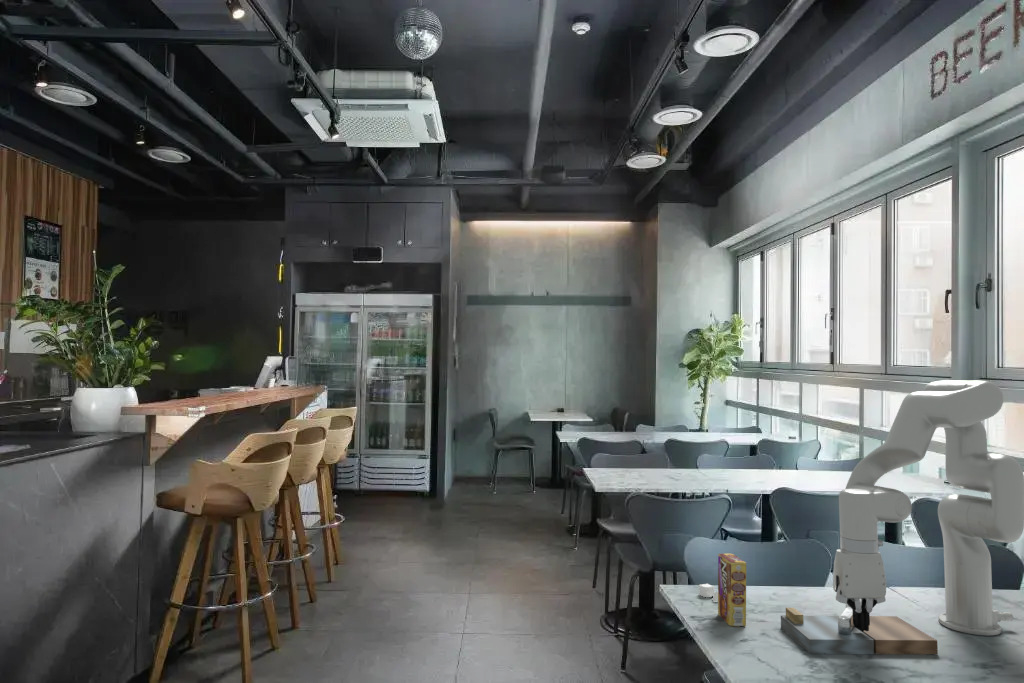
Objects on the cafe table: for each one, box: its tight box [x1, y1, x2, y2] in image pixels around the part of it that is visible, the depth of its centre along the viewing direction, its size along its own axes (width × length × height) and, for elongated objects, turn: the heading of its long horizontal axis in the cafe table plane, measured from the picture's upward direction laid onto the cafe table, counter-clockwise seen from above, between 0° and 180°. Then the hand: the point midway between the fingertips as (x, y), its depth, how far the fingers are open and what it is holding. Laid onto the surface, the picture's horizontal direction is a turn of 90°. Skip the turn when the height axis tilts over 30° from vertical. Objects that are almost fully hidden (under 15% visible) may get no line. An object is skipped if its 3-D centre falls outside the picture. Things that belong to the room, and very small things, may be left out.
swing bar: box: [838, 604, 854, 634], centre depth 152 cm, size 13×3×3 cm, turn 143°
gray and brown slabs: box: [780, 607, 939, 655], centre depth 151 cm, size 28×15×5 cm, turn 91°
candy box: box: [717, 553, 747, 627], centre depth 164 cm, size 9×4×15 cm, turn 2°
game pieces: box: [698, 583, 718, 602], centre depth 178 cm, size 12×3×3 cm, turn 19°
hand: (861, 628), depth 147 cm, fingers closed
